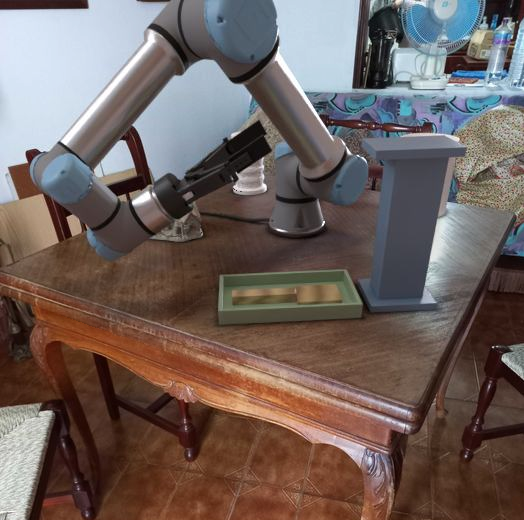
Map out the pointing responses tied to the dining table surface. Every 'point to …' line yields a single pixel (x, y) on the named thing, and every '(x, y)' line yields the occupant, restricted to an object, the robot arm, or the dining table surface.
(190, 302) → the dining table surface
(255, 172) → the decorative container
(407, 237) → the stand
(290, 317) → the tray
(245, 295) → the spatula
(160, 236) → the ceramic cottage
